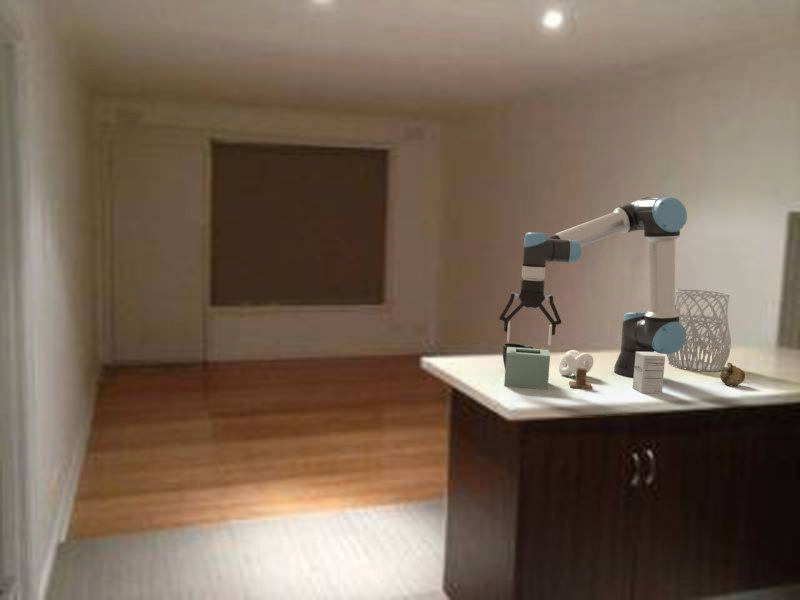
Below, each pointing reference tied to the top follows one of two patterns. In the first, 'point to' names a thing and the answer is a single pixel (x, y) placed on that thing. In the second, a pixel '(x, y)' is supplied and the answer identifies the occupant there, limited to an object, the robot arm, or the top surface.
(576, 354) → the white knot sculpture
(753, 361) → the top surface
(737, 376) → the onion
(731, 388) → the top surface
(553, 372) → the top surface
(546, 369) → the box
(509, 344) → the mug
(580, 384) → the token stand
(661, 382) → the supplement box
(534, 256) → the robot arm
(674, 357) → the vase
